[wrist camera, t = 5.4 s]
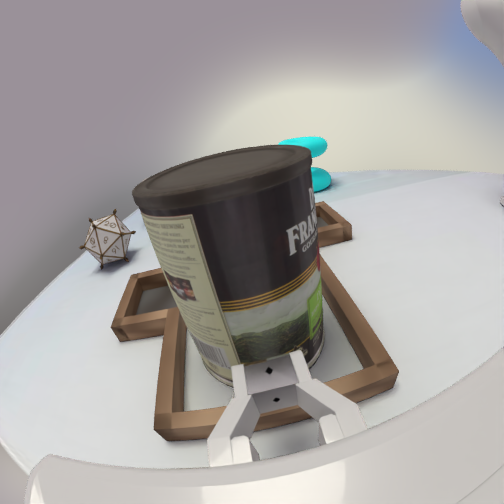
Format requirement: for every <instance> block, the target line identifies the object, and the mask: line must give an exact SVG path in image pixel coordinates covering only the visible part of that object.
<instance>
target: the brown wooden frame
mask: <svg viewBox="0 0 504 504" xmlns="http://www.w3.org/2000/svg"><path fill="white" fill-rule="evenodd" d="M315 207H316V217H317V229H318V241H319V247H323V246H327V245H331V244H335V243H339V242H343V241H348V240H352V225H351V224H350V223H349V222H348V221H346V220H345V219H344V218H343V217H342V216H341V215H339V214H338V213H337V212H336V211H335V210H333V209H332V208H331V207H330V206H328V205H327V204H326V203H325V202H324V201H323V202H318V203H315ZM320 271H321V286H322V294H323V296H324V298H325V299H326V301H327V303H328V305H329V306H330V308H331V310H332V312H333V313H334V315H335V317H336V319H337V320H338V322H339V324H340V326H341V327H342V329H343V331H344V333H345V335H346V336H347V338H348V340H349V342H350V344H351V345H352V347H353V349H354V351H355V353H356V355H357V356H358V358H359V360H360V362H361V364H362V366H363V368H364V369H363V370H360V371H357V372H354V373H352V374H349V375H346V376H343V377H340V378H337V379H334V380H331V381H328V382H325V383H324V384H325V385H327V386H328V387H330V388H331V389H333V390H335V391H336V392H338V393H339V394H341V395H343V396H344V397H346V398H348V399H349V400H351V401H352V402H354V403H357V402H359V401H362V400H365V399H367V398H370V397H372V396H374V395H377V394H379V393H382V392H384V391H386V390H388V389H391V388H393V386H394V383H395V381H396V378H397V376H398V373H399V370H398V369H397V367H396V365H395V364H394V362H393V361H392V359H391V357H390V356H389V354H388V353H387V351H386V350H385V348H384V346H383V345H382V343H381V342H380V340H379V339H378V337H377V336H376V334H375V333H374V331H373V330H372V328H371V327H370V325H369V324H368V322H367V321H366V319H365V318H364V316H363V315H362V313H361V312H360V310H359V309H358V307H357V306H356V304H355V303H354V301H353V300H352V299H351V297H350V296H349V294H348V293H347V291H346V290H345V289H344V287H343V286H342V284H341V283H340V281H339V280H338V279H337V277H336V276H335V274H334V273H333V272H332V270H331V269H330V268H329V266H328V265H327V263H326V262H325V261H324V259H323V258H322V257H321V255H320ZM111 329H112V330H113V332H114V333H115V335H116V336H117V338H118V339H119V341H120V342H121V341H128V340H135V339H142V338H148V337H154V336H160V335H164V337H163V344H162V351H161V358H160V367H159V375H158V384H157V394H156V405H155V417H154V430H155V431H156V432H157V433H158V434H159V435H160V436H162V437H163V438H164V439H165V440H166V441H180V440H194V439H204V438H209V436H210V434H211V433H212V431H213V429H214V428H215V426H216V424H217V422H218V421H219V419H220V417H221V416H222V414H223V412H224V411H225V409H226V407H227V406H223V407H217V408H210V409H203V410H195V411H186V412H183V408H184V368H185V346H186V329H187V326H186V324H185V322H184V320H183V317H182V315H181V313H180V311H179V309H178V306H177V304H176V302H175V300H174V297H173V295H172V293H171V291H170V288H169V286H168V283H167V281H166V278H165V276H164V273H163V271H162V268H158V269H154V270H150V271H146V272H142V273H137V274H133V275H131V277H130V279H129V281H128V284H127V286H126V289H125V291H124V294H123V296H122V299H121V301H120V304H119V306H118V309H117V312H116V314H115V317H114V320H113V322H112V325H111ZM308 418H312V416H310V415H309V414H308V413H307V412H305V411H304V410H303V409H302V408H301V407H299V406H298V405H295V406H291V407H287V408H282V409H278V410H274V411H270V412H266V413H262V414H260V417H259V419H258V422H257V424H256V426H255V429H254V431H258V430H263V429H268V428H273V427H277V426H281V425H286V424H290V423H294V422H297V421H301V420H305V419H308Z"/></svg>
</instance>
